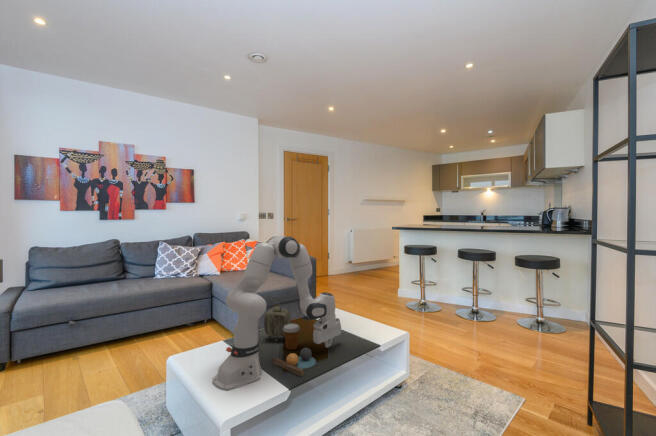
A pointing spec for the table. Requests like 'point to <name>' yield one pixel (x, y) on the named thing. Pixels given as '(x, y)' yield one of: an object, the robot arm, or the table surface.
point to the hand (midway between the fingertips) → (328, 346)
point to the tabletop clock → (276, 320)
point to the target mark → (305, 363)
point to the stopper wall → (288, 367)
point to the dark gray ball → (305, 353)
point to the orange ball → (292, 359)
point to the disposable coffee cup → (291, 335)
